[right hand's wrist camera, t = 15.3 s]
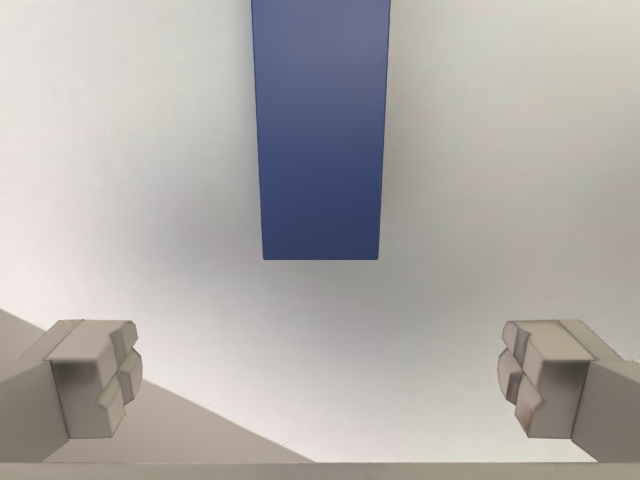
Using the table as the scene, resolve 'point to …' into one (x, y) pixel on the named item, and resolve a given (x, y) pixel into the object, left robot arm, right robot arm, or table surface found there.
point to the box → (320, 125)
